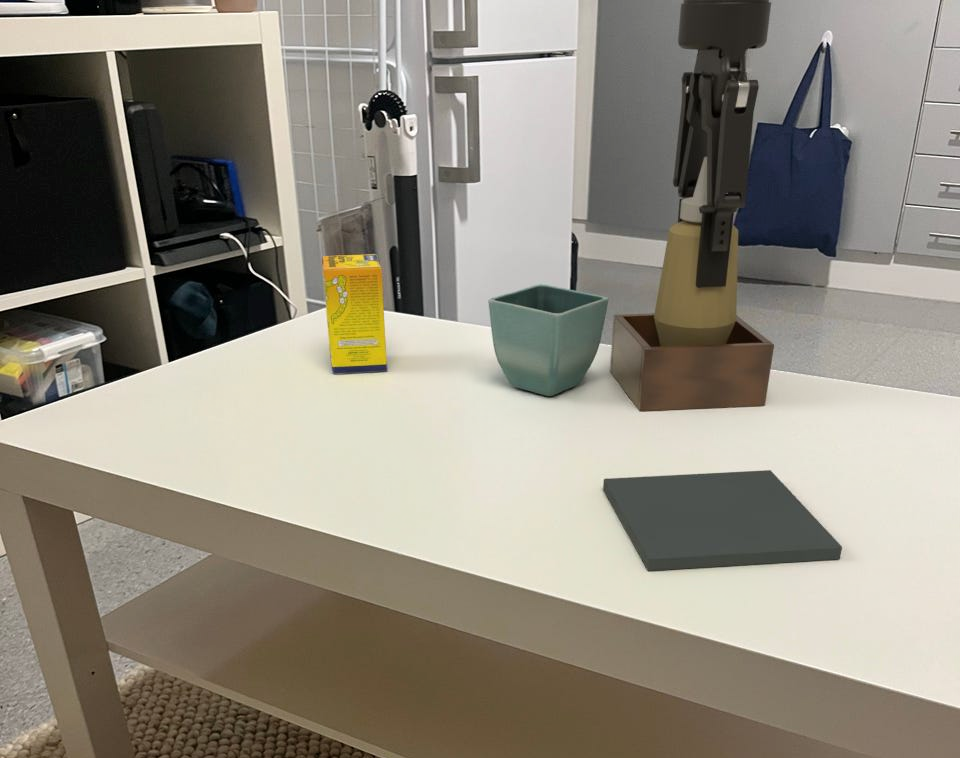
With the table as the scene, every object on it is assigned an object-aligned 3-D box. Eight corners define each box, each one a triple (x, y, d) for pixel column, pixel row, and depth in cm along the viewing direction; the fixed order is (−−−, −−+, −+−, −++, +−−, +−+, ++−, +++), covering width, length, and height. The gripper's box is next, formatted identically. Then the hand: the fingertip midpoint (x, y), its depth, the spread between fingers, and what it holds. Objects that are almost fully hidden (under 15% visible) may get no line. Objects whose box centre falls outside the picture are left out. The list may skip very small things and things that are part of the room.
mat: (768, 481, 84) (770, 469, 83) (840, 559, 72) (842, 546, 71) (602, 489, 82) (603, 478, 82) (647, 571, 70) (649, 558, 70)
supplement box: (329, 358, 112) (320, 255, 107) (383, 355, 113) (377, 253, 107) (331, 375, 108) (322, 267, 102) (387, 372, 108) (382, 265, 102)
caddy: (723, 366, 110) (730, 310, 106) (765, 405, 99) (774, 344, 96) (609, 371, 108) (613, 314, 105) (639, 411, 98) (645, 349, 95)
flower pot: (605, 385, 104) (611, 295, 100) (555, 407, 99) (559, 314, 94) (537, 368, 109) (539, 282, 104) (485, 389, 103) (485, 299, 99)
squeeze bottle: (640, 360, 100) (655, 160, 91) (663, 339, 106) (679, 150, 97) (721, 370, 97) (745, 164, 88) (740, 347, 103) (764, 153, 94)
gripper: (652, -4, 93) (635, 258, 106) (720, -6, 77) (690, 304, 89) (731, -5, 94) (705, 255, 106) (815, -7, 78) (772, 300, 90)
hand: (698, 277), depth 98 cm, fingers closed on squeeze bottle, 6 cm apart
